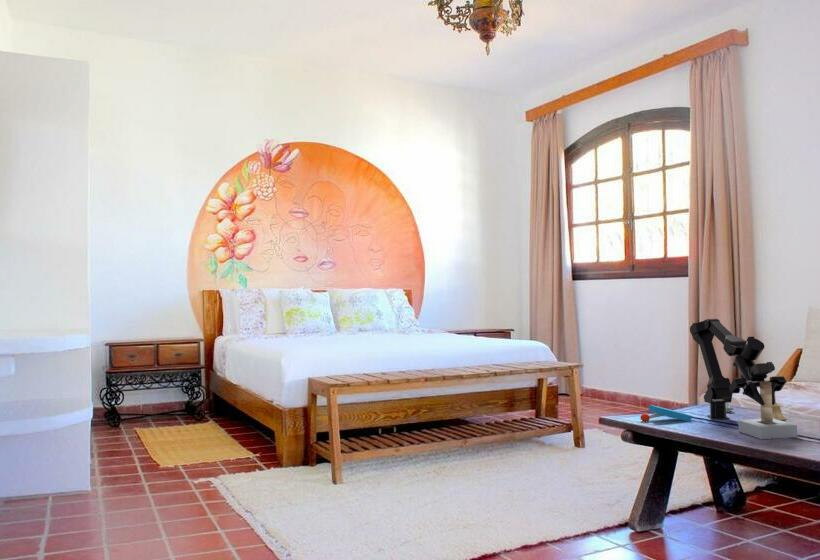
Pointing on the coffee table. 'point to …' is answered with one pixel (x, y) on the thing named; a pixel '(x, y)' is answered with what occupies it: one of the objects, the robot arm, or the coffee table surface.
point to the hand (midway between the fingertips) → (768, 404)
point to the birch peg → (766, 403)
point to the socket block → (767, 429)
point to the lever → (665, 414)
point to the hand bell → (777, 410)
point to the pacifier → (728, 407)
